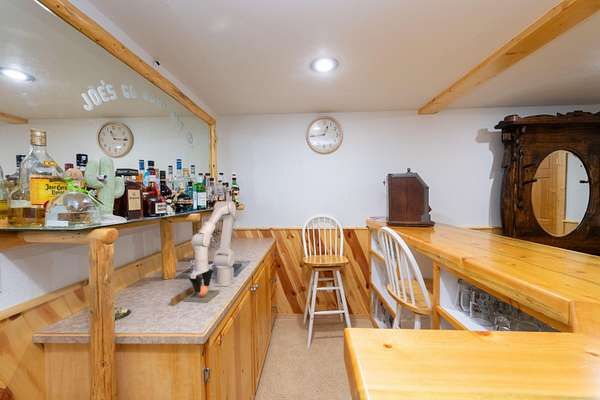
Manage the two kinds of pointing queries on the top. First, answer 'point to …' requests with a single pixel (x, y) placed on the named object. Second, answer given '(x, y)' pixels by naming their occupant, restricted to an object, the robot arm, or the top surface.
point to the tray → (205, 299)
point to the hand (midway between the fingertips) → (202, 289)
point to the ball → (203, 291)
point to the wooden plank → (182, 295)
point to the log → (121, 312)
